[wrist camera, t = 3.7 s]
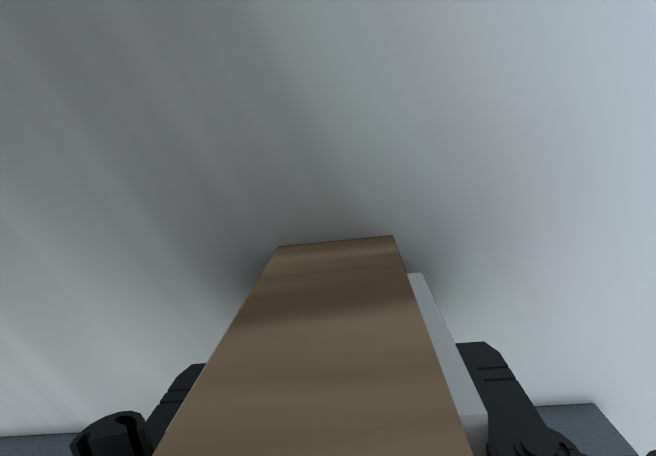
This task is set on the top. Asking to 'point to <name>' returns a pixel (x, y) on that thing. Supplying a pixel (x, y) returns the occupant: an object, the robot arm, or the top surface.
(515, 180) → the top surface
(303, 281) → the walnut peg
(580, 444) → the grey metal hole board
